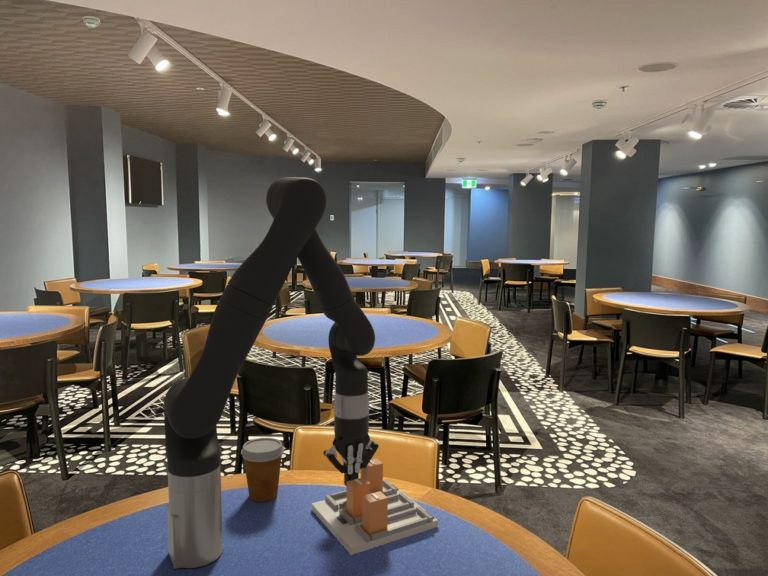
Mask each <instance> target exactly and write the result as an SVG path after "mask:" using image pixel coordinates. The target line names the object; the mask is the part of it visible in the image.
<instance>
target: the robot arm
mask: <svg viewBox="0 0 768 576" xmlns="http://www.w3.org/2000/svg"><path fill="white" fill-rule="evenodd" d="M326 195H327V194H326V191H325V188H324V187H323V186H322V184H321V183H320V182H319V181H317V180H315V179H313V178H310V177H301V176H299V177H297V176H293V177H292V176H287V177H280V178H278V179H276V180H274V182H272V183H271V184H270V186H269V187H268V189H267V192H266V197H265V200H266V201H265V202H266V207H267V210H268V212H269V214H270V216H272V218H273V220H272V222H271V225H270V227H269V229H268V231H267V233H266V235H265V236H264V238H263V239H262V241H261V242H260V244H259V245H258V246H257V247H256V248H255V250H253V251H252V253H251V254H250V255H249V256H248V257H247V258H246V259H245V260H244V261H243V262H242V263H241V264H240V266H239V267H238V268H237V269H236V270H234V273H233V274H232V276H231V277H230V279H229V280H228V282H227V284H226V286H225V288H224V290H223V292H222V294H221V296H220V297H219V299H218V302H217V303H216V307H215V309H214V311H213V314H212V316H211V322H210V325H209V328H208V332H207V335H206V340H205V344H204V348H203V350H202V352H201V355H200V357H199V359H198V362H197V363H196V365H195V367H194V369H193V371H192V373H191V374H190V376H187V377H184V378H181V379H179V380H178V379H177V381H176V382H174V383H173V384H171V386H170V387H169V388H168V390H167V392H166V394H165V397H164V400H163V417H164V418H163V419H164V421H163V423H164V437H165V438H164V441H165V442H164V443H165V454H166V463H167V485H168V486H167V488H168V489H167V490H168V491H167V493H168V504H167V505H166V515H167V516H166V518H167V521H166V522H167V545H168V547H167V548H168V549H167V550H168V551H167V552H168V554H169V559H170V561H171V564H172V566H173V569H175V570H177V569H183V568H184V569H195V568H200V567H203V566H207V565H209V564H212V563H213V562H215V561H216V560H217V559H219V557H221V555H222V553H223V550H224V549H223V541H224V540H223V513H222V512H223V510H222V507H223V506H222V475H221V472H222V468H221V449H220V443H219V438H218V437H219V436H218V430H217V429H218V428H217V427H218V426H217V425H218V423H219V422H220V420H221V418H222V416H223V413H224V411H225V409H226V405H227V403H228V400H229V396H230V394H231V393H232V389H233V387H234V384H235V382H236V379H237V377H238V374H239V372H240V370H241V368H242V366H243V364H244V362H245V361H246V359H247V357H248V355H249V354H250V352H251V350H252V348H253V346H254V344H255V342H256V341H257V339H258V336H259V334H260V333H261V330H262V329H263V327H264V326H265V324H266V322H267V320H268V318H269V315H270V314H271V312H272V310H273V307H274V305H275V303H276V301H277V299H278V297H279V295H280V292H281V291H282V288H283V287H284V285H285V283H286V281H287V279H288V277H289V275H290V273H291V271H292V269H293V267H294V265H295V263H296V260H297V259H298V261H299V262H300V265H301V267H302V269H303V271H304V273H305V275H306V276H307V277H306V278H307V280H308V281H309V283H310V285H311V288H312V291H313V293H314V295H315V297H316V299H317V302H318V304H319V306H320V308H321V311H322V312H323V314H324V316H325V317H326V318H327V319H329V320H331V321H332V322H334V323H333V324H332V325H331V328H330V329H329V332H328V338H327V339H328V340H327V341H328V348H329V354H330V356H331V357H330V358H331V362H332V365H333V369H334V372H335V378H334V379H335V381H334V385H335V386H334V387H335V388H334V390H335V394H334V401H333V406H334V407H333V414H334V415H333V418H334V419H333V422H334V423H333V430H334V431H333V433H334V439H333V441H332V446H331V447H330V448H329V449H325V450H324V451H323V452H322V453H323V454H322V455H323V456H324V457H325V458H326V459H327V460H328V461H329V463H331V464H332V465H333V466H334V468H335V469H336V470H338V472H339V473H340V474H343V484H344V486H345V487H346V488H347V481H351V480H355V479H359V478H360V477H359V472H361V469H362V468H366V467H367V465H368V463H369V462H370V460H372V458H373V457H374V456H375V453H376V452H377V450H378V449H379V446H380V445H379V444H378V443H377V442H375V441H374V440H372V439H371V437H370V435H369V430H370V400H369V372H368V368H367V367H366V365H365V364H363V363H361V361H359V358H358V357H359V356H360V357H363V356H366V355H368V354H370V353H371V352H372V350H373V349H374V347H375V342H376V333H375V331H374V330H375V329H374V327H373V325H372V323H371V321H370V320H369V318H368V317H367V316H366V314H365V313H364V312H363V310H362V307H360V306H359V304H358V303H357V302H356V301H355V299H354V295H353V293H352V290H351V288H350V285H349V283H348V281H347V278H346V276H345V274H344V271H343V270H342V269H341V267H340V266H339V264H338V262H337V261H336V259H335V258H334V256H332V254H331V253H330V251H329V250H328V248H327V246H326V245H325V244H324V242H323V240H322V239H321V237H320V235H319V233H318V230H317V226H318V224H320V222H321V219H322V218H323V216H324V213H325V210H326V208H327V196H326ZM337 453H338V454H339V455H340V456H341V461H342V463H341V462H340V461H339V460H338V454H337Z"/></svg>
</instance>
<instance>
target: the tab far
mask: <svg viewBox="0 0 768 576" xmlns="http://www.w3.org/2000/svg"><path fill="white" fill-rule="evenodd" d="M363 477H364V478H365V479H366V480H367V481H369V482H370V494H371V493H375V492H379V491H383V480H384V479H383V478H384V463H383V462H382V461H380V460H379V459H378V458H373V459H371V460H370V462H369V463H368V465H367V467H366V468H362V469H360V478H363Z"/></svg>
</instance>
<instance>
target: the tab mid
mask: <svg viewBox="0 0 768 576" xmlns="http://www.w3.org/2000/svg"><path fill="white" fill-rule="evenodd" d="M346 490H347V514H348V515H349V516H350V517H351V518H352V519H353V520H354V518H355V517H359V516H362V496H364V495H368V494H370V482H369V481H367V480H366V479H365V478H364V477H363V478H361V477H358V479H355V480H351V481H347V487H346Z"/></svg>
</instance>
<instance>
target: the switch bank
mask: <svg viewBox="0 0 768 576" xmlns="http://www.w3.org/2000/svg"><path fill="white" fill-rule="evenodd" d="M381 492H382V493H383V494H384V495H385V496H386V497H388V525H387V530H384V531H381V532H377V533H374V534H371V537H370V536H369V535H368V534H367V533H366V532H365V531H364V530H363V529H362V516H359V517H355V518H354V520H353V519H352V518H351V517H350V516H349V515H348V514H347V489H346V490H340V491H337V492H334V493H330V495H329V494H326V495H325V496H324V498H325V499H324V500H319V501H316V502H312V503H311V504H310V505H311V510H310V511H312V513H314V515H315V514H316V515H315V516H316V517H317V518H318V519H319V520H320V521H321V523H322V524H323V525H324V526H325V527H326V529H327V530H329V531H330V533H331V534H332V535H333V537H335V539H336V538H337V542H339V543H340V544H341V545H342V547H343V546H344V547H343V548H344V549H345V550H346V551H347V552H348V554H349V555H350V556H353V555H356V554H359V553H362V552H365V551H368V550H371V549H375V548H378V547H381V546H384V545H387V544H390V543H392V542H396V541H399V540H403V539H405V538H408V537H412V536H414V535H418V534H420V533H424V532H427V531H430V530H433V529H436V528H438V527H439V520H438V519H437V518H436V517H435V516H434V515H432V514H431V513H430V512H429V511H427V510H426V509H425V508H423V506H421V505H420V504H418V503H417V502H416V501H415V500H413V499H412V498H411V497H409V496H408V495H407V494H405V493H404V492H403V491H402V490H401V489H399V488H398V487H396V486H395V485H394V484H393V483H392V482H389V481H388V480H387V479H383V491H381ZM380 545H381V546H380ZM374 547H375V548H374Z"/></svg>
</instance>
